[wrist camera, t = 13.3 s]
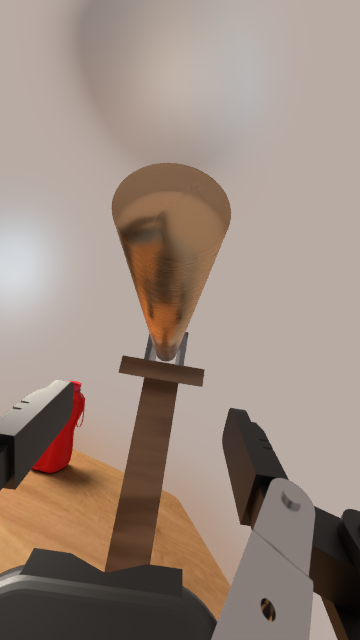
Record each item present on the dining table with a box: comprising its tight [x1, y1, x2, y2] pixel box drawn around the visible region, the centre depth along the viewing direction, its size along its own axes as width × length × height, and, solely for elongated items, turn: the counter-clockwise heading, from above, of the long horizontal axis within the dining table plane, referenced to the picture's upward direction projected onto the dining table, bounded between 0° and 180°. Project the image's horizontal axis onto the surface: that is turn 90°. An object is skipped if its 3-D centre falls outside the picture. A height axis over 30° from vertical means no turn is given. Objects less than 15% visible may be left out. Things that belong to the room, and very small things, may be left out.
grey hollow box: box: [144, 332, 188, 366], centre depth 31 cm, size 12×5×4 cm, turn 4°
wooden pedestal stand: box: [105, 356, 204, 572], centre depth 26 cm, size 12×10×32 cm
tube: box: [112, 163, 231, 361], centre depth 16 cm, size 24×3×3 cm, turn 4°
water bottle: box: [32, 381, 85, 473], centre depth 65 cm, size 9×11×25 cm
